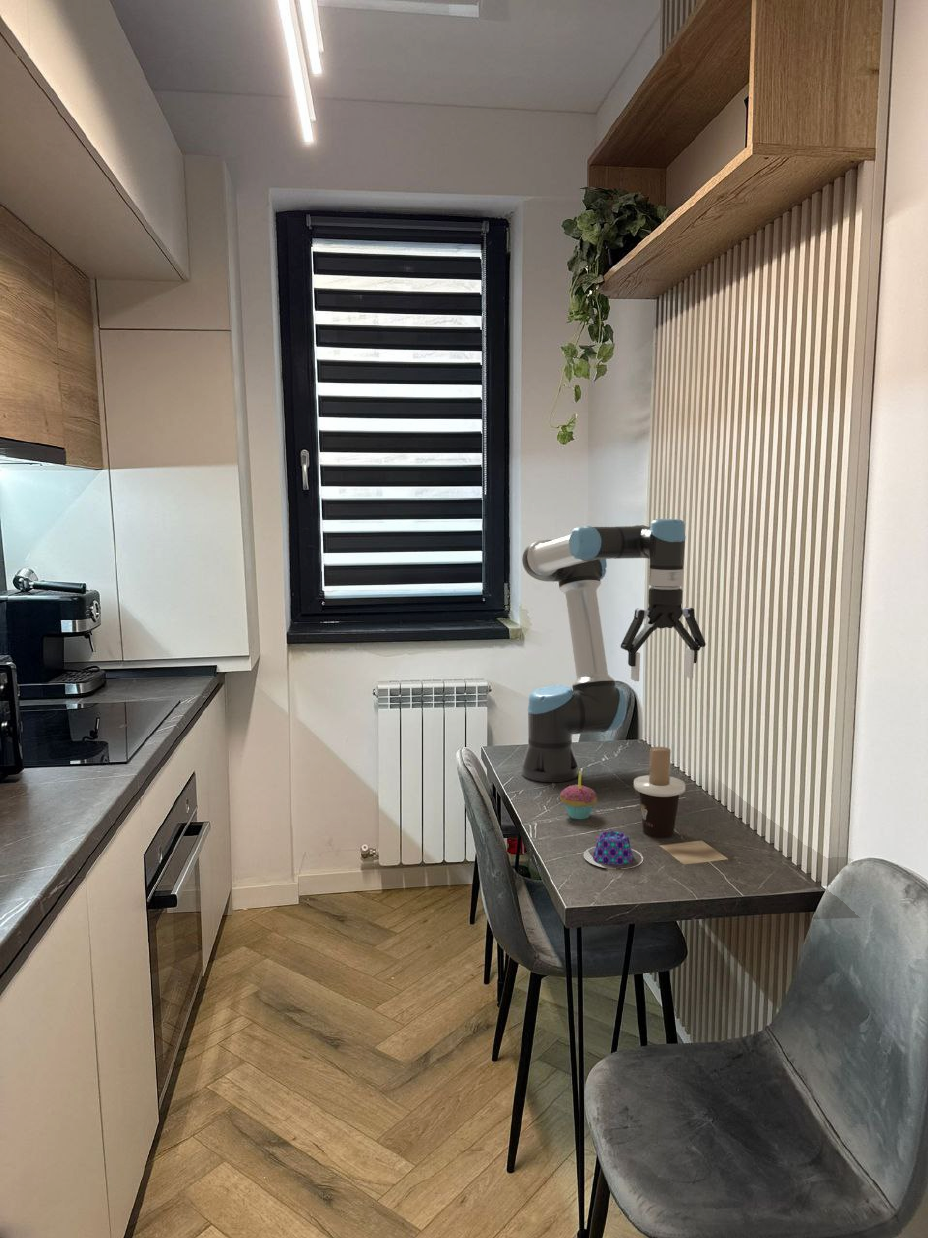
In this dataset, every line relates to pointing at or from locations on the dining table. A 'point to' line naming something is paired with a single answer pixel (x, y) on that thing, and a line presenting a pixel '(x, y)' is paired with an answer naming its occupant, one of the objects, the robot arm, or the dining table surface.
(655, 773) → the lid
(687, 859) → the cork mat
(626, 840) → the pudding
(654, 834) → the coffee mug
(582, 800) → the cupcake
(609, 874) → the dining table surface
